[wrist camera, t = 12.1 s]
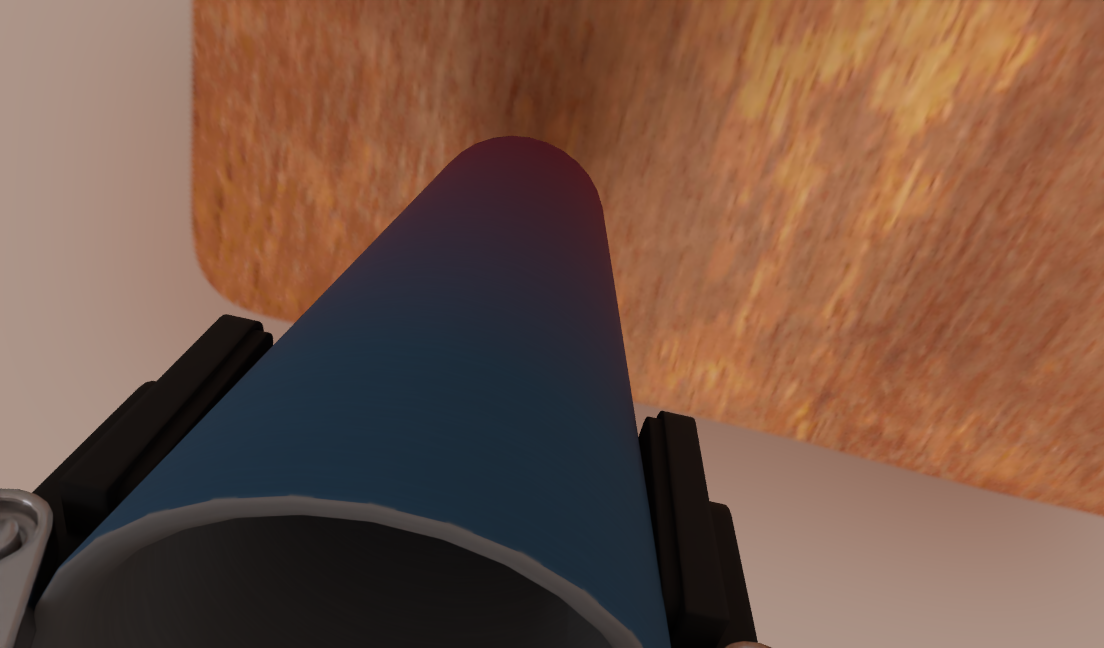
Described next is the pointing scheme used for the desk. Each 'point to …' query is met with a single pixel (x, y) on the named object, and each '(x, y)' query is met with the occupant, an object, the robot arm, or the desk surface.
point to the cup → (407, 453)
